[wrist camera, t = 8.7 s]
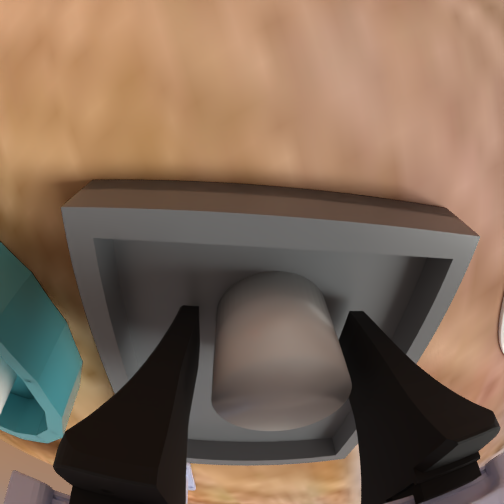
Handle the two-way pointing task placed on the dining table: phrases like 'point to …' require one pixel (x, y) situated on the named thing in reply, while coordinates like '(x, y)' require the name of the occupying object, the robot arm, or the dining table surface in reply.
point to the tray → (247, 264)
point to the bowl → (35, 356)
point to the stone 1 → (5, 381)
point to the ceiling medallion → (501, 328)
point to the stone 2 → (276, 355)
